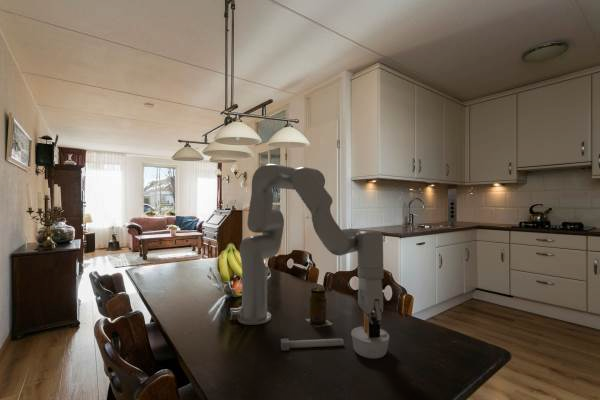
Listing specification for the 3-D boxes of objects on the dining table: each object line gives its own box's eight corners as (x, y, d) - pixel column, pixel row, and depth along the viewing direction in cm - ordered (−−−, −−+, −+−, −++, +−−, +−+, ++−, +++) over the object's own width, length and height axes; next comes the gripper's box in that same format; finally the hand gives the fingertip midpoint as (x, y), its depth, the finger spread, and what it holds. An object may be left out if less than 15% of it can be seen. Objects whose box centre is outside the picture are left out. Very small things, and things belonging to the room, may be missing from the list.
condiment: (321, 316, 117) (321, 285, 117) (333, 324, 110) (333, 291, 110) (304, 319, 114) (304, 288, 114) (315, 328, 107) (315, 294, 107)
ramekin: (382, 365, 82) (382, 345, 82) (345, 354, 88) (345, 336, 88) (393, 348, 92) (393, 331, 92) (359, 339, 98) (359, 323, 98)
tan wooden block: (368, 337, 87) (368, 317, 87) (363, 330, 92) (363, 311, 92) (378, 337, 88) (378, 317, 88) (373, 330, 92) (373, 311, 92)
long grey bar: (281, 350, 90) (281, 343, 90) (280, 345, 93) (280, 338, 93) (344, 347, 92) (344, 340, 92) (342, 343, 95) (342, 336, 95)
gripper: (350, 266, 98) (351, 322, 98) (367, 279, 81) (368, 347, 81) (373, 266, 99) (374, 321, 99) (393, 278, 82) (394, 345, 82)
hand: (371, 332), depth 90 cm, fingers closed on tan wooden block, 4 cm apart
